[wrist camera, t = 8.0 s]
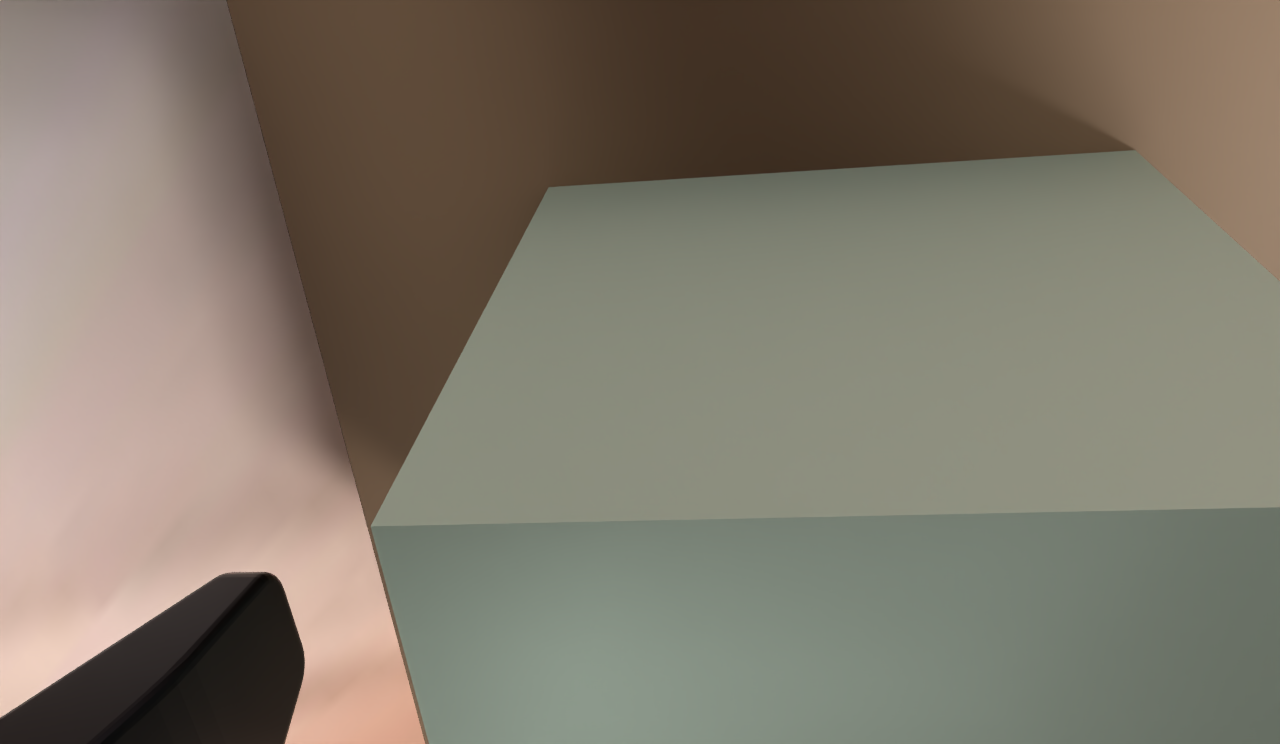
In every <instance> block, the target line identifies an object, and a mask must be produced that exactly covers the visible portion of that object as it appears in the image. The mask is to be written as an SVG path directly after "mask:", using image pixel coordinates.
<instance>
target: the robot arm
mask: <svg viewBox="0 0 1280 744" xmlns="http://www.w3.org/2000/svg"><path fill="white" fill-rule="evenodd" d="M304 665H305V659H304V651H303V647H302V643H301V640H300V637H299V634H298V631H297V628H296V625H295V622H294V619H293V615H292V612H291V609H290V606H289V603H288V600H287V597H286V594H285V591H284V588H283V586H282V584H281V582H280V580H279V579H278V578H277V577H276V576H275V575H273V574H271V573H268V572H232V573H225V574H222V575H219V576H218V577H216V578H214V579H213V580H211V581H210V582H208V583H207V584H205V585H204V586H202V587H201V588H199V589H197V590H196V591H194V592H193V593H191V594H190V595H188V596H187V597H185V598H184V599H182V600H181V601H179V602H178V603H176V604H174V605H173V606H171V607H170V608H168V609H167V610H165V611H164V612H162V613H161V614H159V615H158V616H156V617H154V618H153V619H151V620H150V621H148V622H147V623H145V624H144V625H142V626H141V627H139V628H138V629H136V630H135V631H133V632H131V633H130V634H128V635H127V636H125V637H124V638H122V639H121V640H119V641H118V642H116V643H115V644H113V645H111V646H110V647H108V648H107V649H105V650H104V651H102V652H101V653H99V654H98V655H96V656H95V657H93V658H92V659H90V660H88V661H87V662H85V663H84V664H82V665H81V666H79V667H78V668H76V669H75V670H73V671H72V672H70V673H69V674H67V675H65V676H64V677H62V678H61V679H59V680H58V681H56V682H55V683H53V684H52V685H50V686H49V687H47V688H45V689H44V690H42V691H41V692H39V693H38V694H36V695H35V696H33V697H32V698H30V699H29V700H27V701H26V702H24V703H22V704H21V705H19V706H18V707H16V708H15V709H13V710H12V711H10V712H9V713H7V714H6V715H4V716H2V717H1V718H0V744H285V740H286V737H287V733H288V730H289V726H290V723H291V719H292V716H293V712H294V709H295V705H296V702H297V698H298V695H299V691H300V688H301V685H302V680H303V675H304Z"/></svg>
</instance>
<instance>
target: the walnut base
mask: <svg viewBox="0 0 1280 744" xmlns="http://www.w3.org/2000/svg"><path fill="white" fill-rule="evenodd" d="M227 4H228V8H229V11H230V15H231V19H232V23H233V26H234V30H235V34H236V38H237V41H238V45H239V49H240V52H241V56H242V60H243V64H244V67H245V71H246V75H247V79H248V82H249V86H250V90H251V94H252V97H253V101H254V105H255V109H256V112H257V116H258V120H259V123H260V127H261V131H262V135H263V138H264V142H265V146H266V150H267V153H268V157H269V161H270V165H271V168H272V172H273V176H274V180H275V183H276V187H277V191H278V194H279V198H280V202H281V206H282V209H283V213H284V217H285V221H286V224H287V228H288V232H289V236H290V239H291V243H292V247H293V251H294V254H295V258H296V262H297V265H298V269H299V273H300V277H301V280H302V284H303V288H304V292H305V295H306V299H307V303H308V307H309V310H310V314H311V318H312V322H313V325H314V329H315V333H316V336H317V340H318V344H319V348H320V351H321V355H322V359H323V363H324V366H325V370H326V374H327V378H328V381H329V385H330V389H331V393H332V396H333V400H334V404H335V407H336V411H337V415H338V419H339V422H340V426H341V430H342V434H343V437H344V441H345V445H346V449H347V452H348V456H349V460H350V464H351V467H352V471H353V475H354V478H355V482H356V486H357V490H358V493H359V497H360V501H361V505H362V508H363V512H364V516H365V520H366V523H367V527H368V531H369V535H370V538H371V542H372V546H373V550H374V553H375V557H376V561H377V564H378V568H379V572H380V576H381V579H382V583H383V587H384V591H385V594H386V598H387V602H388V606H389V609H390V613H391V617H392V621H393V624H394V628H395V632H396V635H397V639H398V643H399V647H400V650H401V654H402V658H403V662H404V665H405V669H406V673H407V677H408V680H409V684H410V688H411V692H412V695H413V699H414V703H415V706H416V710H417V714H418V718H419V721H420V725H421V729H422V733H423V736H424V740H425V744H429V742H428V738H427V735H426V731H425V727H424V723H423V720H422V716H421V712H420V709H419V705H418V701H417V697H416V694H415V690H414V686H413V683H412V679H411V675H410V671H409V668H408V664H407V660H406V657H405V653H404V649H403V645H402V642H401V638H400V634H399V630H398V627H397V623H396V619H395V616H394V612H393V608H392V604H391V601H390V597H389V593H388V590H387V586H386V582H385V578H384V575H383V571H382V567H381V564H380V560H379V556H378V552H377V549H376V545H375V541H374V538H373V534H372V530H371V524H372V523H373V521H374V519H375V517H376V515H377V513H378V511H379V509H380V507H381V505H382V504H383V502H384V500H385V498H386V496H387V494H388V492H389V490H390V488H391V486H392V485H393V483H394V481H395V479H396V477H397V475H398V473H399V471H400V469H401V467H402V465H403V464H404V462H405V460H406V458H407V456H408V454H409V452H410V450H411V448H412V446H413V445H414V443H415V441H416V439H417V437H418V435H419V433H420V431H421V429H422V427H423V425H424V424H425V422H426V420H427V418H428V416H429V414H430V412H431V410H432V408H433V406H434V405H435V403H436V401H437V399H438V397H439V395H440V393H441V391H442V389H443V387H444V385H445V384H446V382H447V380H448V378H449V376H450V374H451V372H452V370H453V368H454V366H455V365H456V363H457V361H458V359H459V357H460V355H461V353H462V351H463V349H464V347H465V346H466V344H467V342H468V340H469V338H470V336H471V334H472V332H473V330H474V328H475V326H476V325H477V323H478V321H479V319H480V317H481V315H482V313H483V311H484V309H485V307H486V306H487V304H488V302H489V300H490V298H491V296H492V294H493V292H494V290H495V288H496V286H497V285H498V283H499V281H500V279H501V277H502V275H503V273H504V271H505V269H506V267H507V266H508V264H509V262H510V260H511V258H512V256H513V254H514V252H515V250H516V248H517V246H518V245H519V243H520V241H521V239H522V237H523V235H524V233H525V231H526V229H527V227H528V226H529V224H530V222H531V220H532V218H533V216H534V214H535V212H536V210H537V208H538V207H539V205H540V203H541V201H542V199H543V197H544V195H545V193H546V191H547V189H548V187H559V186H575V185H591V184H607V183H622V182H638V181H654V180H670V179H686V178H702V177H718V176H733V175H749V174H765V173H781V172H797V171H813V170H829V169H845V168H860V167H876V166H892V165H908V164H924V163H940V162H956V161H971V160H987V159H1003V158H1019V157H1035V156H1051V155H1067V154H1083V153H1098V152H1114V151H1130V150H1136V151H1137V152H1138V153H1139V154H1140V155H1141V156H1142V157H1143V158H1144V159H1145V160H1147V161H1148V162H1149V163H1150V164H1151V165H1152V166H1153V167H1154V168H1155V169H1157V170H1158V171H1159V172H1160V173H1161V174H1162V175H1163V176H1164V177H1165V178H1166V179H1168V180H1169V181H1170V182H1171V183H1172V184H1173V185H1174V186H1175V187H1176V188H1177V189H1179V190H1180V191H1181V192H1182V193H1183V194H1184V195H1185V196H1186V197H1187V198H1188V199H1190V200H1191V201H1192V202H1193V203H1194V204H1195V205H1196V206H1197V207H1198V208H1199V209H1201V210H1202V211H1203V212H1204V213H1205V214H1206V215H1207V216H1208V217H1209V218H1210V219H1212V220H1213V221H1214V222H1215V223H1216V224H1217V225H1218V226H1219V227H1220V228H1221V229H1223V230H1224V231H1225V232H1226V233H1227V234H1228V235H1229V236H1230V237H1231V238H1232V239H1234V240H1235V241H1236V242H1237V243H1238V244H1239V245H1240V246H1241V247H1242V248H1244V249H1245V250H1246V251H1247V252H1248V253H1249V254H1250V255H1251V256H1252V257H1253V258H1255V259H1256V260H1257V261H1258V262H1259V263H1260V264H1261V265H1262V266H1263V267H1264V268H1266V269H1267V270H1268V271H1269V272H1270V273H1271V274H1272V275H1273V276H1274V277H1275V278H1277V279H1278V280H1279V281H1280V0H227Z"/></svg>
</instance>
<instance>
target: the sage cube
mask: <svg viewBox="0 0 1280 744" xmlns="http://www.w3.org/2000/svg"><path fill="white" fill-rule="evenodd" d="M371 530H372V534H373V538H374V541H375V545H376V549H377V552H378V556H379V560H380V564H381V567H382V571H383V575H384V578H385V582H386V586H387V590H388V593H389V597H390V601H391V604H392V608H393V612H394V616H395V619H396V623H397V627H398V630H399V634H400V638H401V642H402V645H403V649H404V653H405V657H406V660H407V664H408V668H409V671H410V675H411V679H412V683H413V686H414V690H415V694H416V697H417V701H418V705H419V709H420V712H421V716H422V720H423V723H424V727H425V731H426V735H427V738H428V742H429V744H1280V281H1279V280H1278V279H1277V278H1275V277H1274V276H1273V275H1272V274H1271V273H1270V272H1269V271H1268V270H1267V269H1266V268H1264V267H1263V266H1262V265H1261V264H1260V263H1259V262H1258V261H1257V260H1256V259H1255V258H1253V257H1252V256H1251V255H1250V254H1249V253H1248V252H1247V251H1246V250H1245V249H1244V248H1242V247H1241V246H1240V245H1239V244H1238V243H1237V242H1236V241H1235V240H1234V239H1232V238H1231V237H1230V236H1229V235H1228V234H1227V233H1226V232H1225V231H1224V230H1223V229H1221V228H1220V227H1219V226H1218V225H1217V224H1216V223H1215V222H1214V221H1213V220H1212V219H1210V218H1209V217H1208V216H1207V215H1206V214H1205V213H1204V212H1203V211H1202V210H1201V209H1199V208H1198V207H1197V206H1196V205H1195V204H1194V203H1193V202H1192V201H1191V200H1190V199H1188V198H1187V197H1186V196H1185V195H1184V194H1183V193H1182V192H1181V191H1180V190H1179V189H1177V188H1176V187H1175V186H1174V185H1173V184H1172V183H1171V182H1170V181H1169V180H1168V179H1166V178H1165V177H1164V176H1163V175H1162V174H1161V173H1160V172H1159V171H1158V170H1157V169H1155V168H1154V167H1153V166H1152V165H1151V164H1150V163H1149V162H1148V161H1147V160H1145V159H1144V158H1143V157H1142V156H1141V155H1140V154H1139V153H1138V152H1137V151H1136V150H1130V151H1114V152H1098V153H1083V154H1067V155H1051V156H1035V157H1019V158H1003V159H987V160H971V161H956V162H940V163H924V164H908V165H892V166H876V167H860V168H845V169H829V170H813V171H797V172H781V173H765V174H749V175H733V176H718V177H702V178H686V179H670V180H654V181H638V182H622V183H607V184H591V185H575V186H559V187H548V189H547V191H546V193H545V195H544V197H543V199H542V201H541V203H540V205H539V207H538V208H537V210H536V212H535V214H534V216H533V218H532V220H531V222H530V224H529V226H528V227H527V229H526V231H525V233H524V235H523V237H522V239H521V241H520V243H519V245H518V246H517V248H516V250H515V252H514V254H513V256H512V258H511V260H510V262H509V264H508V266H507V267H506V269H505V271H504V273H503V275H502V277H501V279H500V281H499V283H498V285H497V286H496V288H495V290H494V292H493V294H492V296H491V298H490V300H489V302H488V304H487V306H486V307H485V309H484V311H483V313H482V315H481V317H480V319H479V321H478V323H477V325H476V326H475V328H474V330H473V332H472V334H471V336H470V338H469V340H468V342H467V344H466V346H465V347H464V349H463V351H462V353H461V355H460V357H459V359H458V361H457V363H456V365H455V366H454V368H453V370H452V372H451V374H450V376H449V378H448V380H447V382H446V384H445V385H444V387H443V389H442V391H441V393H440V395H439V397H438V399H437V401H436V403H435V405H434V406H433V408H432V410H431V412H430V414H429V416H428V418H427V420H426V422H425V424H424V425H423V427H422V429H421V431H420V433H419V435H418V437H417V439H416V441H415V443H414V445H413V446H412V448H411V450H410V452H409V454H408V456H407V458H406V460H405V462H404V464H403V465H402V467H401V469H400V471H399V473H398V475H397V477H396V479H395V481H394V483H393V485H392V486H391V488H390V490H389V492H388V494H387V496H386V498H385V500H384V502H383V504H382V505H381V507H380V509H379V511H378V513H377V515H376V517H375V519H374V521H373V523H372V524H371Z"/></svg>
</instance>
